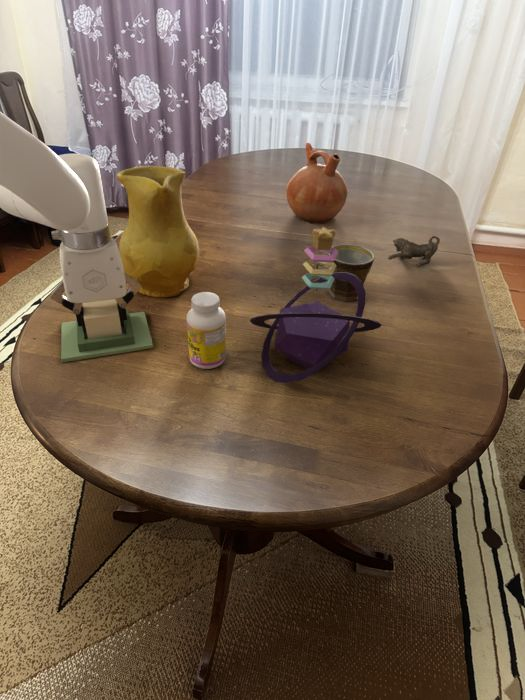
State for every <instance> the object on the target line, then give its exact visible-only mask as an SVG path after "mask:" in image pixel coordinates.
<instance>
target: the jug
mask: <svg viewBox="0 0 525 700" xmlns="http://www.w3.org/2000/svg"><path fill="white" fill-rule="evenodd" d="M305 154H306V162H307V163H306V166H304V167H302V168H300V169H299V170H297V171H296V173H294V175H293V176H292V177H291V178H290V180H289V181H288V183H287V185H286V202H287V204H288V206H289V208H290V209H291V211H292V212H293V213H294V215H295V217H297V219H299V220H300V221H303V222H305V223H309V224H325V223H330V222H331V221H332V220H333V219H334V218H335V217H336V216H337V215H338V214H339V213H340V211H342V209H343V207H345V204H346V201H347V198H348V187H347V185H346V182H345V179H344V178H343V176H342V175H341V174H340V172H339V171H338V170H337V168H338V165H339V163H340V161H341V157H340V156H339V154H338V153H332V154H331V155H330V154H329V153H327V152H326V151H325V150H317V149H315V148H313V145H312V144H311V142H306V143H305ZM319 157H321V158H322V159H323V161H324V164H322V163H319V162H318V158H319Z"/></svg>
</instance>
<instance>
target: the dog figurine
mask: <svg viewBox="0 0 525 700" xmlns="http://www.w3.org/2000/svg"><path fill="white" fill-rule="evenodd" d="M433 239H436V241H435V242H434V241H433ZM440 242H441V239H440V237H438V236H436V235H432V236H430V237H429V238H428V242H425V243H417V242H414V241H411V240H409V239H406V238H404V237H400V236H398V237H396V238H394V239H393V240H392V243H393V246H394V247H395V250H396V252H397V253H395V254H394V253H393V254H391V255H388V256H387V260H391V261H392V259H396V258H399V259H400V260H401V259H402V260H412V259H413V258H421V259H422V261H420V262H416V264H415V266H416V267H417V268H420V267H423V266H425V265H429V264H430V263H431V260H432V258H433V256H434V255H435V254H436V252H437V251H438V248H439V244H440Z"/></svg>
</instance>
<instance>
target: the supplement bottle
mask: <svg viewBox="0 0 525 700" xmlns="http://www.w3.org/2000/svg"><path fill="white" fill-rule="evenodd" d="M220 303H221V302H220V297H219V295H217V294H216V293H214V292H212V291H211V292H210V291H201V292H198V293H195V294H194V295H192V297H191V299H190V304H191V305H190V306H191V308H190V309H189V310H188V312H187V314H186V328H187V329H186V330H187V344H188V359H189V361H190V363H191V364H192V365H193V366H195V367H196V368H198V369H203V370H210V369H215V368H218V367H219V366H221V365H222V364H224V362H225V360H226V354H227V353H226V352H227V350H226V349H227V347H226V345H227V344H226V343H227V342H226V339H227V337H226V336H227V335H226V313H225V311H224V310H223V308H222V307H220V305H221V304H220Z"/></svg>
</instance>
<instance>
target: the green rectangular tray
mask: <svg viewBox="0 0 525 700" xmlns="http://www.w3.org/2000/svg"><path fill="white" fill-rule="evenodd" d="M126 314H127V320H124V326H125V327H122V326H121V330H122V334H121V335H114V336H107V337H101V338H94V339H88V335H87V331H86V332H83V328H82V326H80V327H79V326H78V323H77V320H72V321H64V322H61V324H60V325H61V326H60V327H61V330H60V332H61V335H60V337H61V339H60V340H61V342H60V344H61V345H60V351H61V352H60V360H61V363H67V362H73V361H80V360H86V359H93V358H100V357H106V356H111V355H119V354H124V353H131V352H138V351H144V350H149V349H153V348H154V344H153V340H152V336H151V332H150V328H149V325H148V321H147V316H146V313H145V311H138V312H131V313H130V311H129V308H126Z"/></svg>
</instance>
